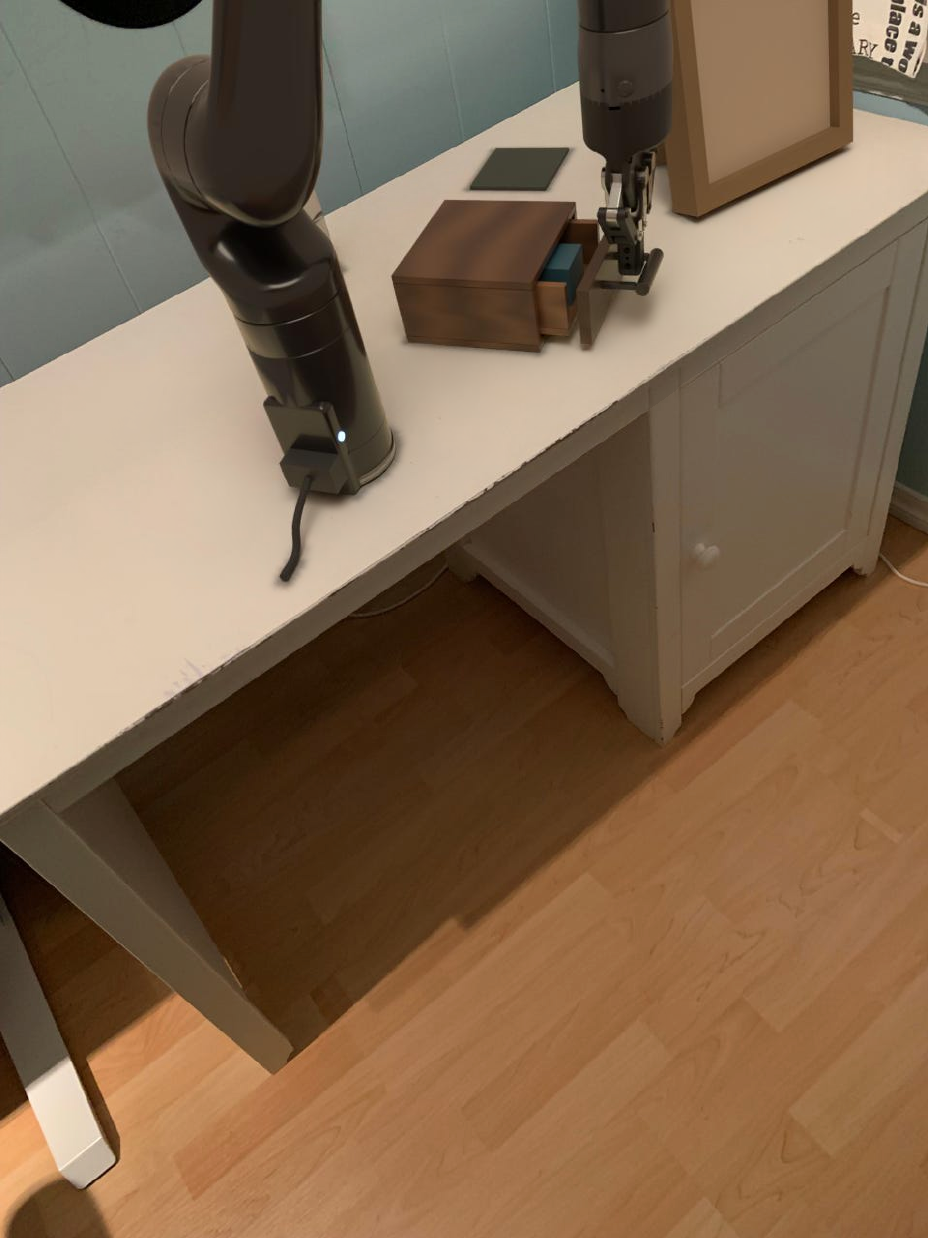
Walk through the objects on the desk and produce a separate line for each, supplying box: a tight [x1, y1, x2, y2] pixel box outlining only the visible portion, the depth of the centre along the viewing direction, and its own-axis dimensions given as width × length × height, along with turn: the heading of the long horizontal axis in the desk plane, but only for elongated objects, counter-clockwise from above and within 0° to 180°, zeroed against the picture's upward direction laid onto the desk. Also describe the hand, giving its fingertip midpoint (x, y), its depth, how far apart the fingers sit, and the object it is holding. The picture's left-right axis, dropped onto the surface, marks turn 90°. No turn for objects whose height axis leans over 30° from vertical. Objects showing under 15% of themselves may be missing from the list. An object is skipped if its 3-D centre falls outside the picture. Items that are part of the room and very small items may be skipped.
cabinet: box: [390, 199, 578, 353], centre depth 90 cm, size 15×15×8 cm
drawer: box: [535, 218, 665, 346], centre depth 87 cm, size 18×13×6 cm
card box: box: [538, 243, 584, 306], centre depth 88 cm, size 4×6×4 cm
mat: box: [469, 147, 570, 191], centre depth 111 cm, size 10×10×1 cm
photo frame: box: [656, 0, 854, 218], centre depth 93 cm, size 15×22×25 cm
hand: (631, 271), depth 85 cm, fingers closed
